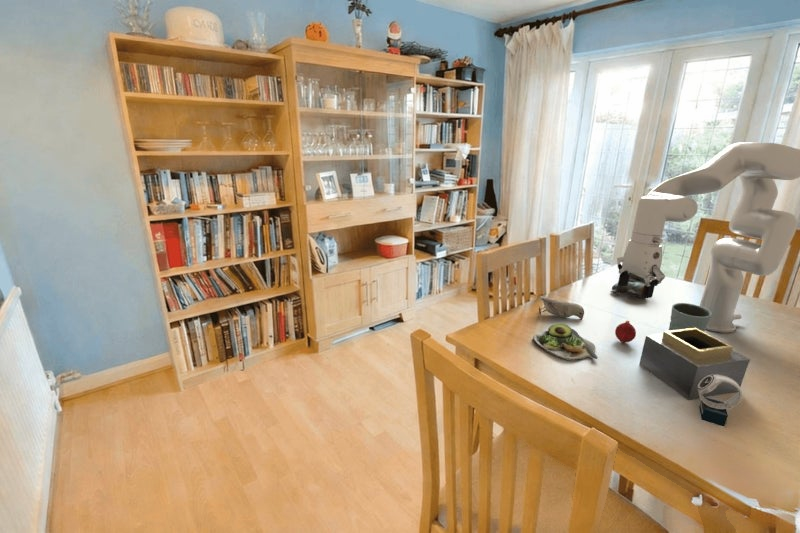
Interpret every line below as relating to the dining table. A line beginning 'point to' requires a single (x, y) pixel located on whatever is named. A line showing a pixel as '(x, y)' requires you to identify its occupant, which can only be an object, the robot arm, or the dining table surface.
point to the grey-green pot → (689, 317)
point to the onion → (625, 332)
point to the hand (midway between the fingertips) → (634, 291)
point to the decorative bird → (562, 308)
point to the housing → (692, 361)
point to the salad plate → (565, 342)
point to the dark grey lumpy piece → (631, 286)
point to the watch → (713, 408)
